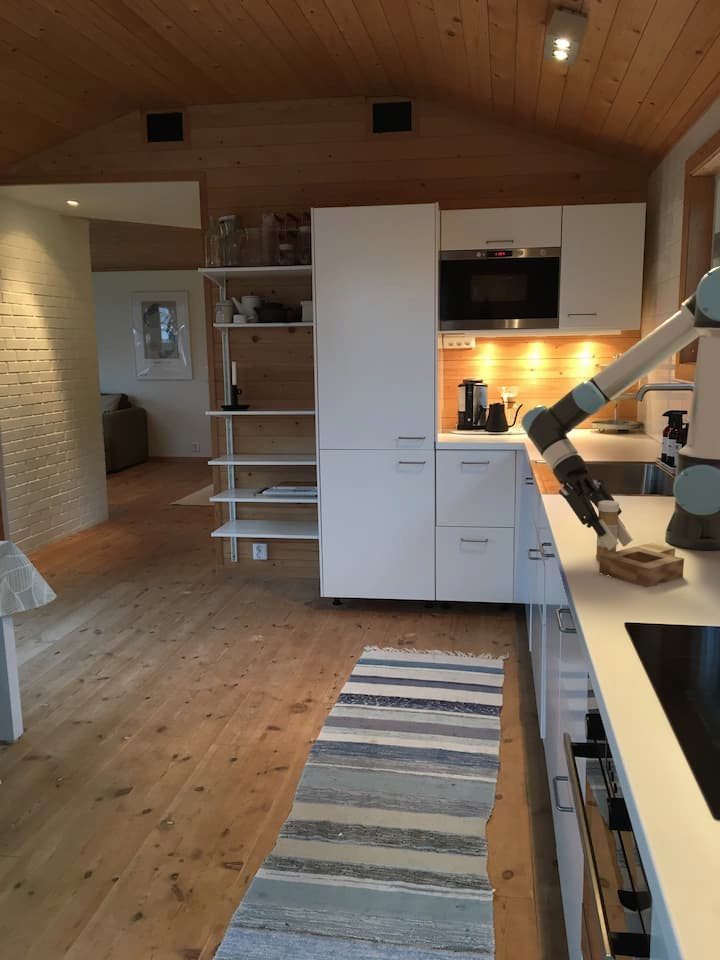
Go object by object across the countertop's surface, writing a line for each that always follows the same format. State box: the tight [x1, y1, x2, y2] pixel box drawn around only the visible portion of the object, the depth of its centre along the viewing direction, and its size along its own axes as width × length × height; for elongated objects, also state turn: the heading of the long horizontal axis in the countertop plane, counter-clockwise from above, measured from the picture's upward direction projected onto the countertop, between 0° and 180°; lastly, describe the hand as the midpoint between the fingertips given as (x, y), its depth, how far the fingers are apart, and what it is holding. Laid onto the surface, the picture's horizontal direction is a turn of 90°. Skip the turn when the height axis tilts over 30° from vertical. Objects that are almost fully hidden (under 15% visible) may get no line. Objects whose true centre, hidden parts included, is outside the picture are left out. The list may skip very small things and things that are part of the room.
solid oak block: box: [634, 542, 676, 557], centre depth 170 cm, size 6×6×4 cm
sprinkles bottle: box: [595, 500, 620, 561], centre depth 173 cm, size 5×5×13 cm
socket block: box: [598, 546, 685, 588], centre depth 162 cm, size 12×12×4 cm
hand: (620, 544), depth 171 cm, fingers closed on sprinkles bottle, 4 cm apart
